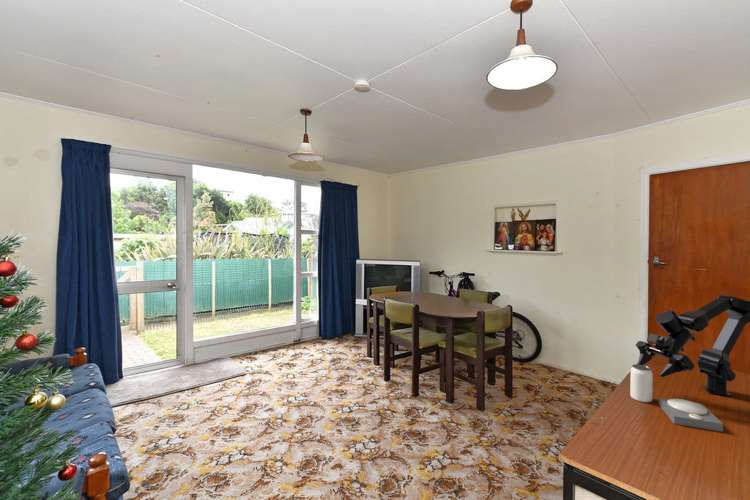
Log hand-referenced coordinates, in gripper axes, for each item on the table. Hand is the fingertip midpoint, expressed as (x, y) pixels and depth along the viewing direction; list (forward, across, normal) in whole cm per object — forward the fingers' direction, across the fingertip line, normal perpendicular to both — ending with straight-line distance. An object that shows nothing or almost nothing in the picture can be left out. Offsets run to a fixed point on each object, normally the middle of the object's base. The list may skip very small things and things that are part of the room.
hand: (649, 371), depth 129 cm
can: (+10, 0, +5) cm, 11 cm away
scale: (+7, +14, +8) cm, 17 cm away
